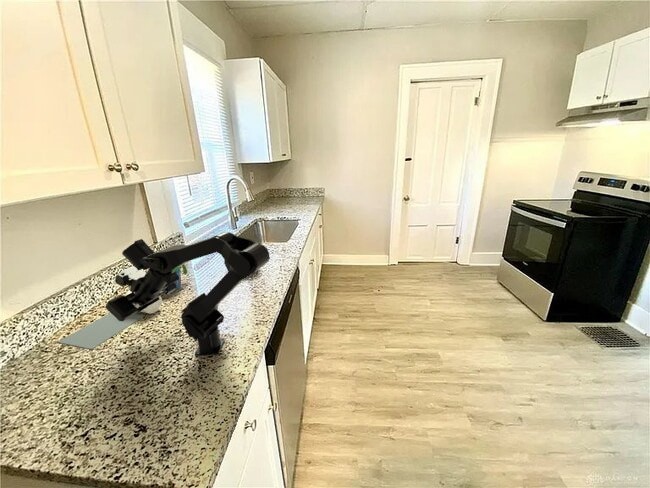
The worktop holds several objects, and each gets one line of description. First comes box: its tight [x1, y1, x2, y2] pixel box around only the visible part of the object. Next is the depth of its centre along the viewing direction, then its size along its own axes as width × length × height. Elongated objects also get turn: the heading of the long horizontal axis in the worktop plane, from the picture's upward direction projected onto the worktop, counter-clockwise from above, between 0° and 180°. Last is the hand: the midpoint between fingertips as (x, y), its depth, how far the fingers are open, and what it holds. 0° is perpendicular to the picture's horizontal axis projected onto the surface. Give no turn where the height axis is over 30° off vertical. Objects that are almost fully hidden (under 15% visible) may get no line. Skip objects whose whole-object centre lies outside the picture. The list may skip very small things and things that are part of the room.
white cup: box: [124, 290, 163, 315], centre depth 99 cm, size 8×8×10 cm
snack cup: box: [163, 264, 188, 293], centre depth 115 cm, size 16×10×10 cm
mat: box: [57, 312, 146, 350], centre depth 90 cm, size 14×18×1 cm
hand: (133, 310), depth 84 cm, fingers closed
